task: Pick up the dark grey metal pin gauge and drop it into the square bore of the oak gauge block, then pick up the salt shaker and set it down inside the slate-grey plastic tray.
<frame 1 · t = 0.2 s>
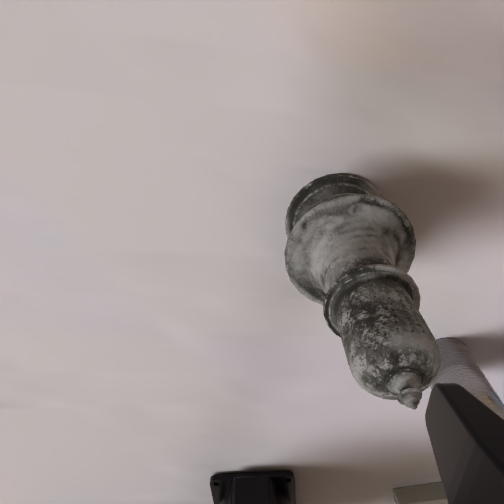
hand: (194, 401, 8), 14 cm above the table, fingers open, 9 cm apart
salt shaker: (334, 220, 22), on the table
pin: (442, 356, 27), on the table
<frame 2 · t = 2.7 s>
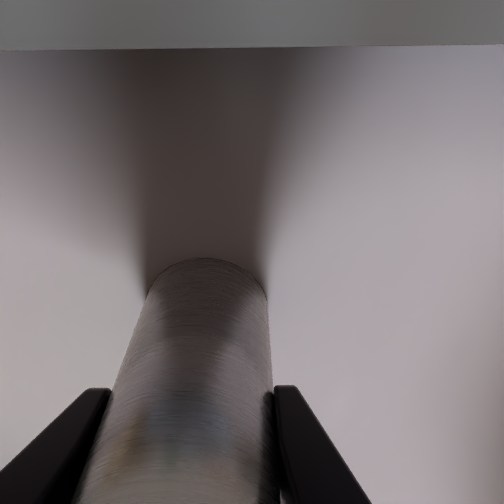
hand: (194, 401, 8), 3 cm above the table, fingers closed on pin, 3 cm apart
pin: (207, 310, 10), on the table, touching gripper
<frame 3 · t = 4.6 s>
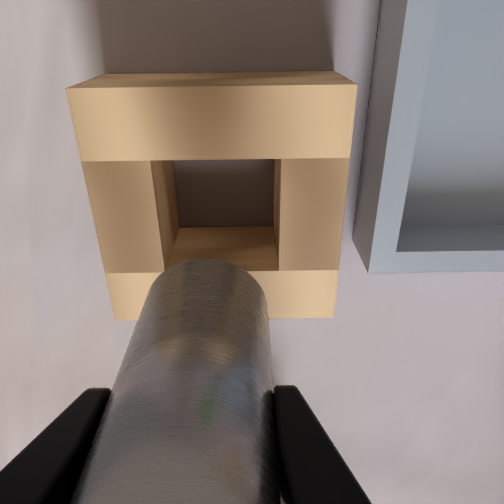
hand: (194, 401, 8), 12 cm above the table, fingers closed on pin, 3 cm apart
gauge block: (224, 182, 19), on the table
pin: (207, 311, 10), point 9 cm above the table, touching gripper
when the fingers open (5 cm above the table, at t = 6.4 s): pin drops 2 cm, resting in gauge block.
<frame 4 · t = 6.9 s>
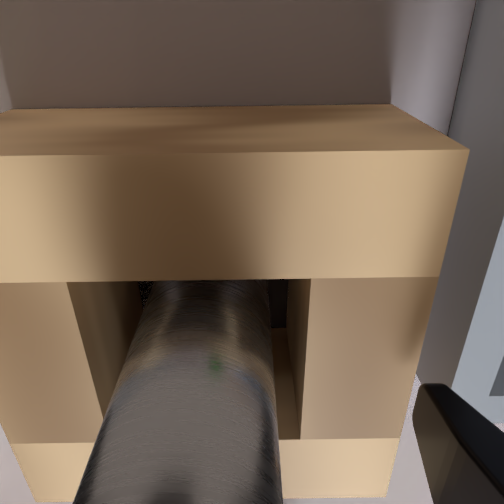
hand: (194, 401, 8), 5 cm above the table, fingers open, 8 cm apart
gauge block: (212, 269, 12), on the table
pin: (214, 268, 12), resting in gauge block
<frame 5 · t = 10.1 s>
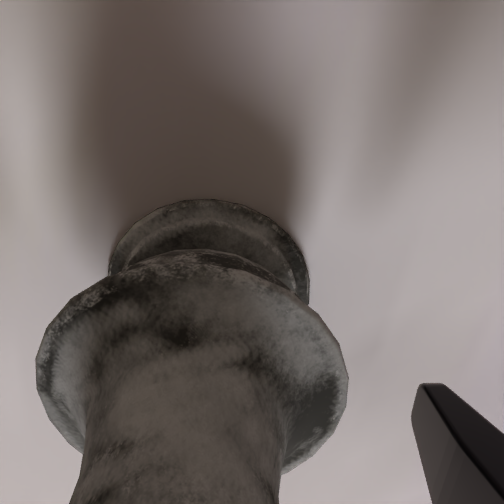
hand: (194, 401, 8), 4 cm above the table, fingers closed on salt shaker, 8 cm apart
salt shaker: (210, 288, 11), on the table, touching gripper
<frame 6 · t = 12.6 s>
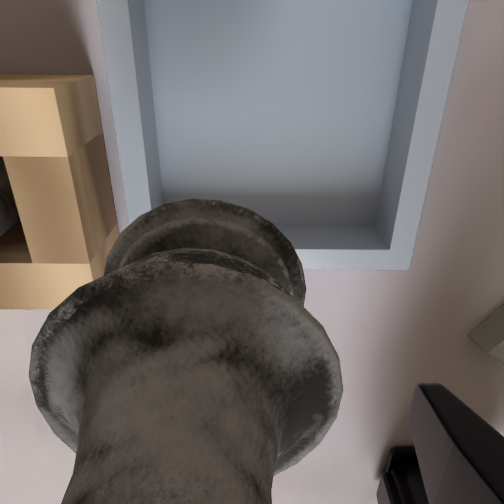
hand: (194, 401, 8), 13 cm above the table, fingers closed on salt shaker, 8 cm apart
gauge block: (12, 178, 19), on the table
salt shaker: (206, 287, 11), point 9 cm above the table, touching gripper
tray: (273, 114, 18), on the table
pin: (14, 178, 19), resting in gauge block
when the fingers open (5 cm above the table, at t = 15.0 s): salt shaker stays where it is, resting on tray.
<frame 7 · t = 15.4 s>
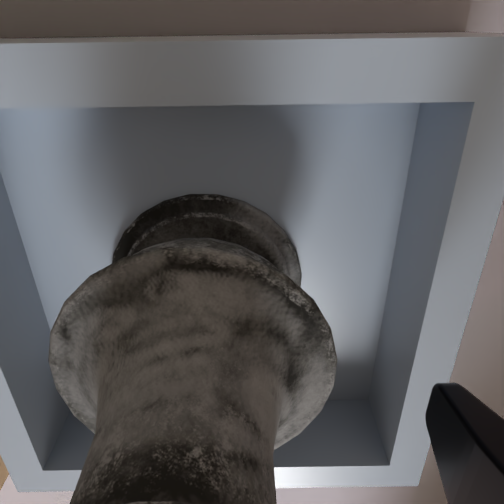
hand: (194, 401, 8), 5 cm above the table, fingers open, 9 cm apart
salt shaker: (208, 278, 12), resting on tray
tray: (213, 265, 12), on the table
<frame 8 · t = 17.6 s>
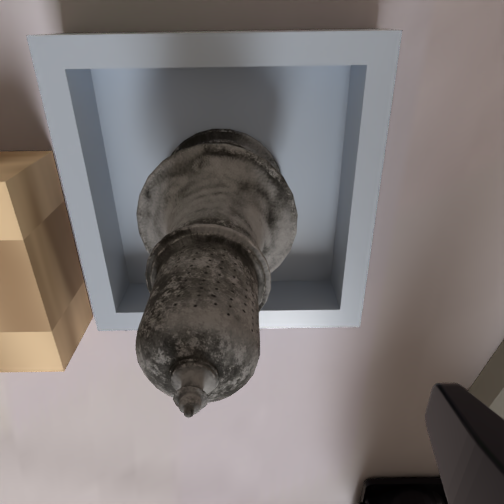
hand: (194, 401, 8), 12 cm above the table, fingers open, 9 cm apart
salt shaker: (223, 187, 19), resting on tray
tray: (226, 181, 19), on the table
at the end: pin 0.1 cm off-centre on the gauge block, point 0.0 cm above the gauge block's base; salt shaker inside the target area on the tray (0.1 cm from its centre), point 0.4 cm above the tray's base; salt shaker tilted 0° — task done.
